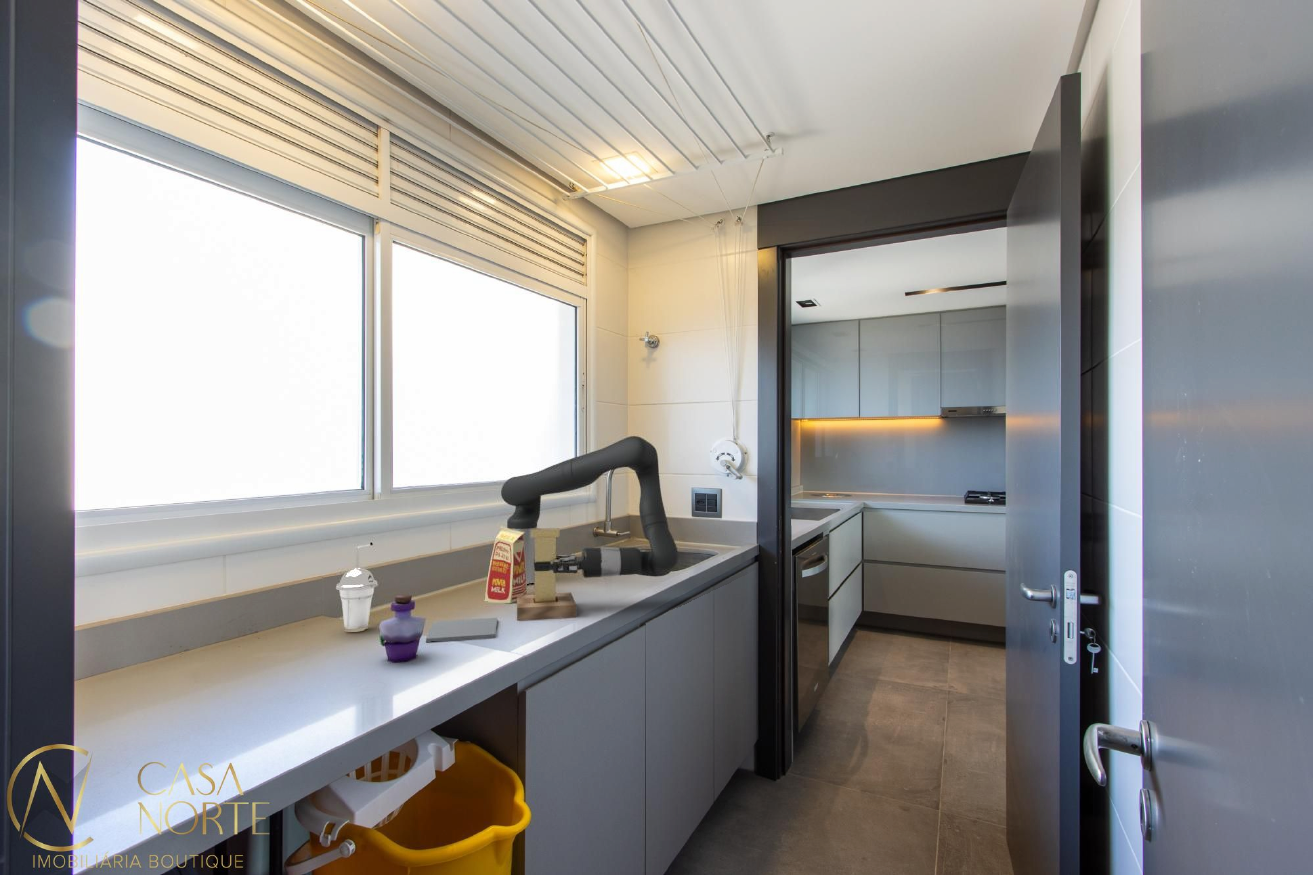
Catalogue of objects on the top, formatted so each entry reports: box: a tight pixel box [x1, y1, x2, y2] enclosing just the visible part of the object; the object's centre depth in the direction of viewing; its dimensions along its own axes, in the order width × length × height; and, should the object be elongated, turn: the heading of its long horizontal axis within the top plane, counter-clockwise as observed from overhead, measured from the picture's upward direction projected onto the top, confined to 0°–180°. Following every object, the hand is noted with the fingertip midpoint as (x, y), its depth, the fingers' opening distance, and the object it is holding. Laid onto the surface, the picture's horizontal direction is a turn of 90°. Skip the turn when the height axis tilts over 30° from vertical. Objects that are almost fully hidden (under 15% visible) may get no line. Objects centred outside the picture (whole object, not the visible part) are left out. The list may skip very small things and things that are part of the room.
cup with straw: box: [335, 541, 379, 629], centre depth 134 cm, size 8×9×20 cm
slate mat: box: [425, 617, 498, 643], centre depth 133 cm, size 14×14×1 cm
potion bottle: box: [378, 594, 427, 664], centre depth 115 cm, size 9×9×12 cm
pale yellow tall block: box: [531, 527, 560, 603], centre depth 151 cm, size 7×5×18 cm
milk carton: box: [484, 525, 528, 604], centre depth 165 cm, size 9×9×20 cm
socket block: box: [516, 592, 577, 622], centre depth 150 cm, size 14×14×3 cm
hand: (534, 564), depth 150 cm, fingers closed on pale yellow tall block, 5 cm apart
